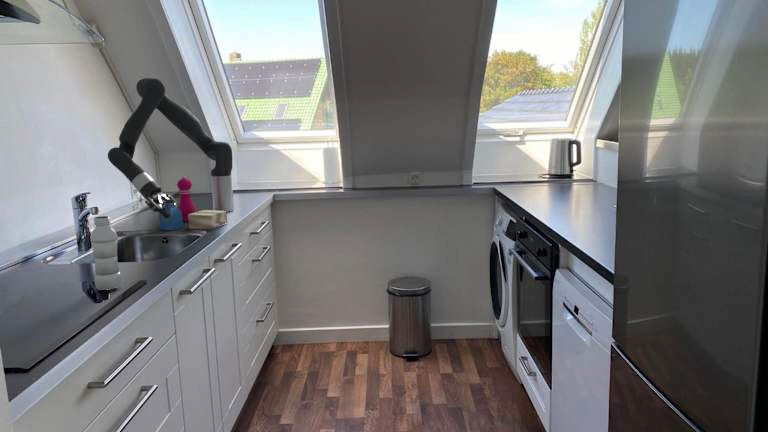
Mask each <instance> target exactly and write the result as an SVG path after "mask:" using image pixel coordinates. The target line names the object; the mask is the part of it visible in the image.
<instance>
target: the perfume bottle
mask: <svg viewBox="0 0 768 432" xmlns="http://www.w3.org/2000/svg"><path fill="white" fill-rule="evenodd" d="M174 199H175V198H174ZM174 199H166V202H165V205H166V206H164V207H163V209H165V210H166V211H167V212H168V213H169V214H170V216H169V217H168V218H165V217H164V216H163V215H162V214H161V213H160V212H159V213H158V218H159V228H160V230H165V231H175V230H179V229H182V228H184V222H183V220H182V212H181V211H180V210H179V208H178V206H177V207H174V202H173V200H174Z"/></svg>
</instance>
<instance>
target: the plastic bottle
mask: <svg viewBox="0 0 768 432" xmlns="http://www.w3.org/2000/svg"><path fill="white" fill-rule="evenodd" d="M93 224H94V226H95V227H94V229H93V230H92V231H91V234H90V238H89V240H90V243H91V248H92V251H93V258H94V262H95V263H94V266H95V267H94V270H95V271H94V286H95V288H96V289H97V290H98V291H100V290H107V289H112V288H115V287H118V286H120V285H121V286H122V282H123V279H122V274H121V271H120V267H119V262H118V240H119V238H118V233H117V231H116V230H115V229H114V228H113V227H112V226H111V219H110V216H109V215H103V216H95V217H93ZM121 286H120V287H121Z"/></svg>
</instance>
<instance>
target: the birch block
mask: <svg viewBox="0 0 768 432" xmlns="http://www.w3.org/2000/svg"><path fill="white" fill-rule="evenodd" d="M227 213H228V212H226V211H215V210H213V209H209V210H208V209H203V210H199V211H195V212H194V213H192V214H188V220H189V221H188V228H189V229H194V230H207V229H206V228H213V227H216V226H219V225H222V224H225V223H227V224H228V215H227Z"/></svg>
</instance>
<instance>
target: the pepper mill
mask: <svg viewBox="0 0 768 432" xmlns="http://www.w3.org/2000/svg"><path fill="white" fill-rule="evenodd" d="M176 186H177V188H178V189H179V190H178V193H179V196H180V197H179V198H180V199H179V204H178V206H177V207H178V208H179V210H180V211H181V212H182V220H183V223H185V222H189V220H188V214H192V213H195V212H196V208H195V205H194V203H193V201H192V199H191V193H192V190H191V188H192V187H193V186H192V181H191V180H190V179H188V178H187V177H186V175H184V174H183V175H181V179H179V180H178V181H177V184H176Z"/></svg>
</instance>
